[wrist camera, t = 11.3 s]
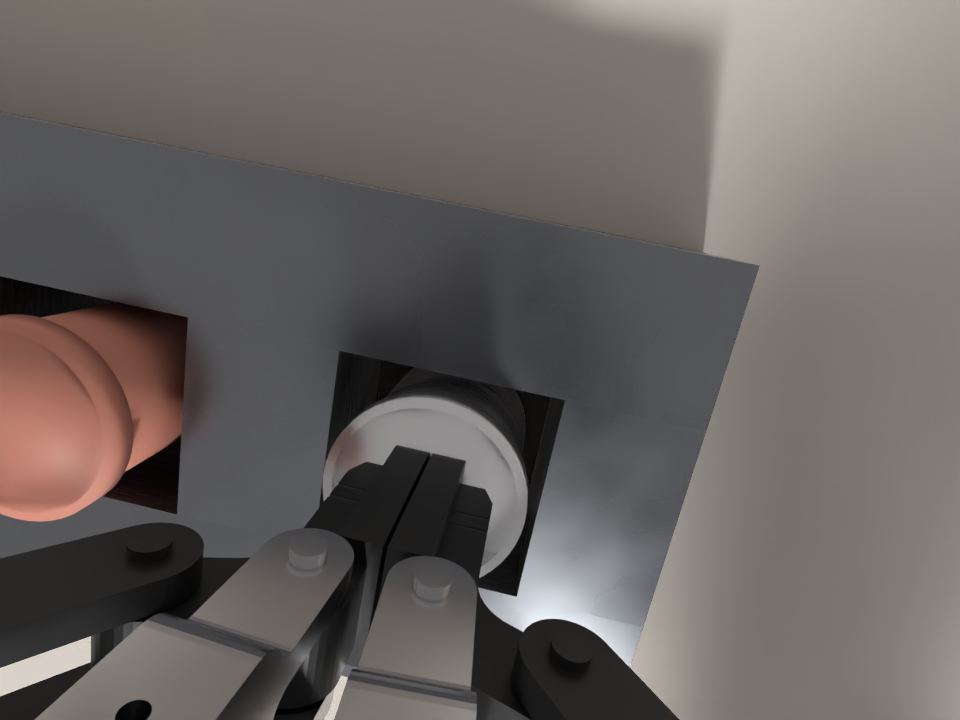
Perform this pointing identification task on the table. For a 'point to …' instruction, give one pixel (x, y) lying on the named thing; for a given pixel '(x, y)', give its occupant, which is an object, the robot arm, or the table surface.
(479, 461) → the steel plunger
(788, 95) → the table surface
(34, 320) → the terracotta plunger
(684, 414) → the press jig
